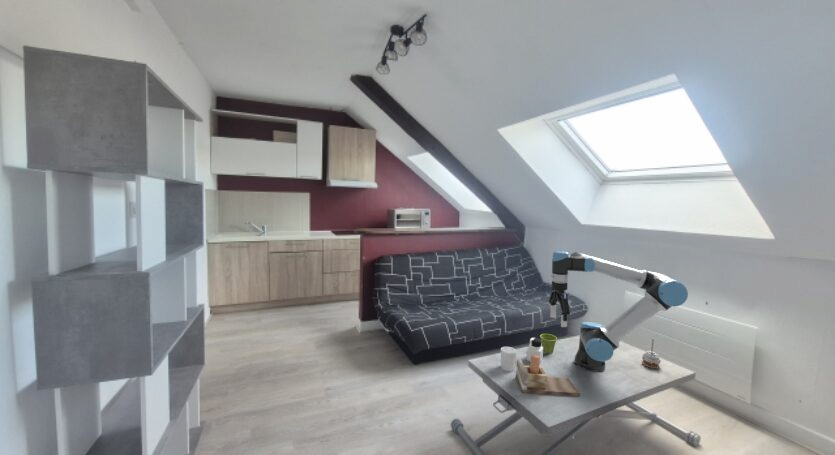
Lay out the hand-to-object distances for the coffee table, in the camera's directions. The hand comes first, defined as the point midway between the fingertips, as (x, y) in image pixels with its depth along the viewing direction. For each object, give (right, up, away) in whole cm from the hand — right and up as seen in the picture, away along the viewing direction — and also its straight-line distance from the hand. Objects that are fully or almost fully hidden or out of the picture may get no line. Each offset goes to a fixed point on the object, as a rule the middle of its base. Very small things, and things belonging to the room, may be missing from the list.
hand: (558, 321), depth 176 cm
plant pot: (+4, -24, +25) cm, 35 cm away
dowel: (-17, -26, -13) cm, 33 cm away
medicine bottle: (-8, -25, +13) cm, 29 cm away
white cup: (-25, -26, +4) cm, 36 cm away
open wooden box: (-17, -25, -13) cm, 33 cm away
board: (-11, -27, -13) cm, 32 cm away
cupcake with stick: (+55, -27, +11) cm, 62 cm away
